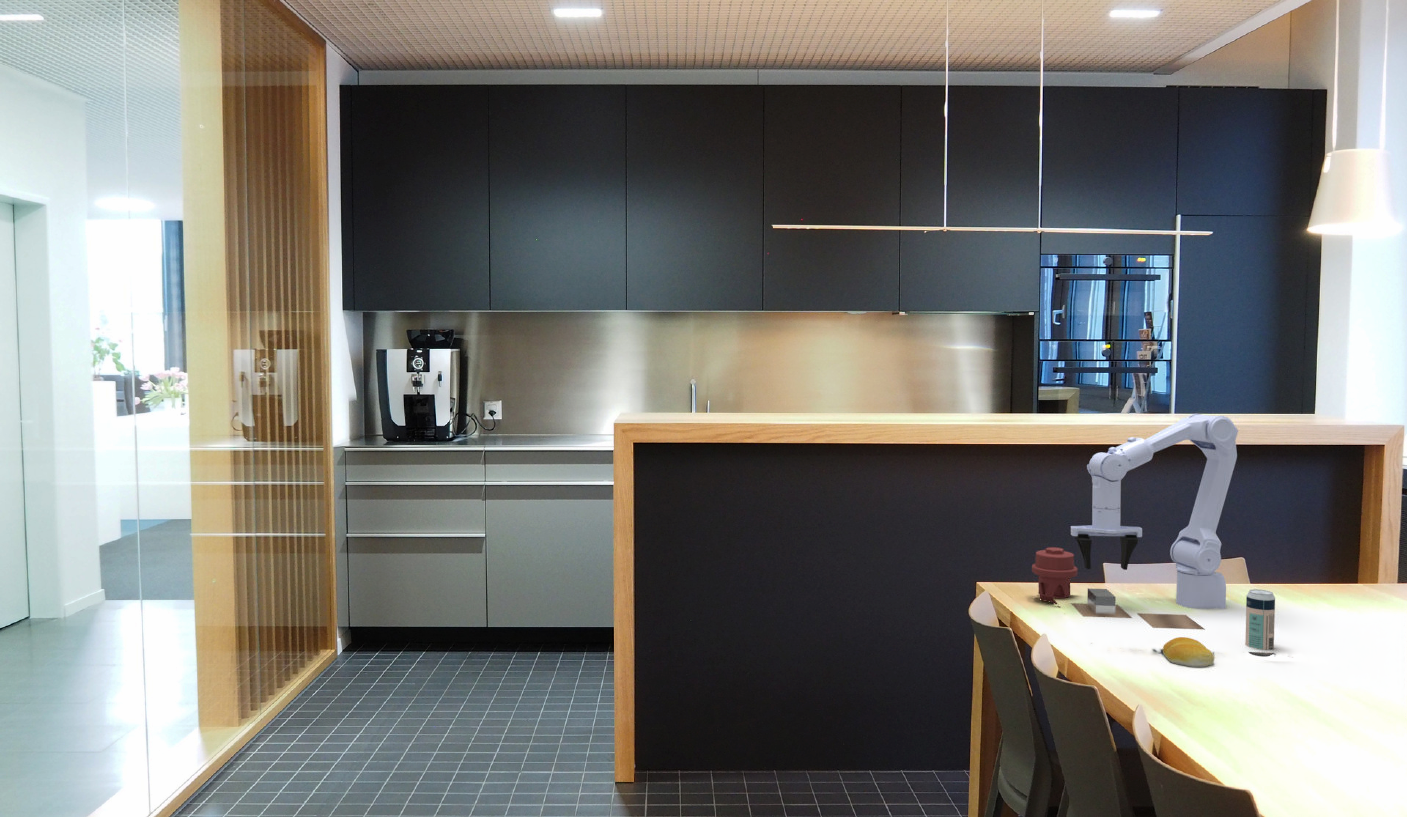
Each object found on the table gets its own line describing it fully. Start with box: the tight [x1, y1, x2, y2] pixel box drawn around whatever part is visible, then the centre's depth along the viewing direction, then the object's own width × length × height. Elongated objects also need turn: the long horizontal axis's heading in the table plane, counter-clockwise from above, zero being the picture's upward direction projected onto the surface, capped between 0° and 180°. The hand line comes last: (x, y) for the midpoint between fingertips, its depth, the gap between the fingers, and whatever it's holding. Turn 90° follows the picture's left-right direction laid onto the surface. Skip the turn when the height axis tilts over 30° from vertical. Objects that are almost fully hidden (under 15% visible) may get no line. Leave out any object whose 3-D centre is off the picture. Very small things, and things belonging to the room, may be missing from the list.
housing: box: [1086, 587, 1117, 615], centre depth 205 cm, size 4×7×4 cm, turn 172°
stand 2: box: [1136, 612, 1206, 630], centre depth 197 cm, size 10×11×2 cm
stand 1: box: [1070, 602, 1133, 619], centre depth 206 cm, size 10×11×2 cm
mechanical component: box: [1031, 546, 1079, 605], centre depth 219 cm, size 12×10×10 cm
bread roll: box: [1162, 636, 1215, 668], centre depth 176 cm, size 8×9×4 cm
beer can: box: [1244, 588, 1276, 658], centre depth 179 cm, size 5×5×12 cm
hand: (1105, 568), depth 207 cm, fingers open, 7 cm apart
